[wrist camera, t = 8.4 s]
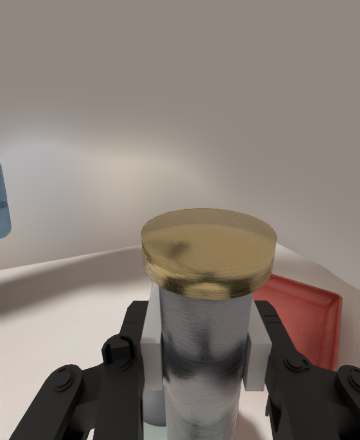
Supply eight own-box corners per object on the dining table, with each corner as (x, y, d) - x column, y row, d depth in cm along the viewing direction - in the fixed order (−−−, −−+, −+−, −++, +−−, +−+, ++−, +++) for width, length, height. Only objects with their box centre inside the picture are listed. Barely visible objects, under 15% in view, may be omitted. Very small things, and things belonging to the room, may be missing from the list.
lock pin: (149, 404, 14) (132, 215, 9) (217, 378, 15) (229, 204, 11) (172, 519, 10) (160, 277, 5) (262, 469, 11) (311, 246, 7)
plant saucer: (168, 336, 30) (167, 317, 29) (226, 274, 44) (227, 259, 43) (325, 434, 20) (333, 410, 19) (338, 313, 34) (343, 294, 33)
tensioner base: (121, 374, 25) (117, 348, 24) (188, 352, 28) (187, 328, 26) (153, 680, 11) (148, 659, 10) (285, 579, 13) (295, 551, 12)
